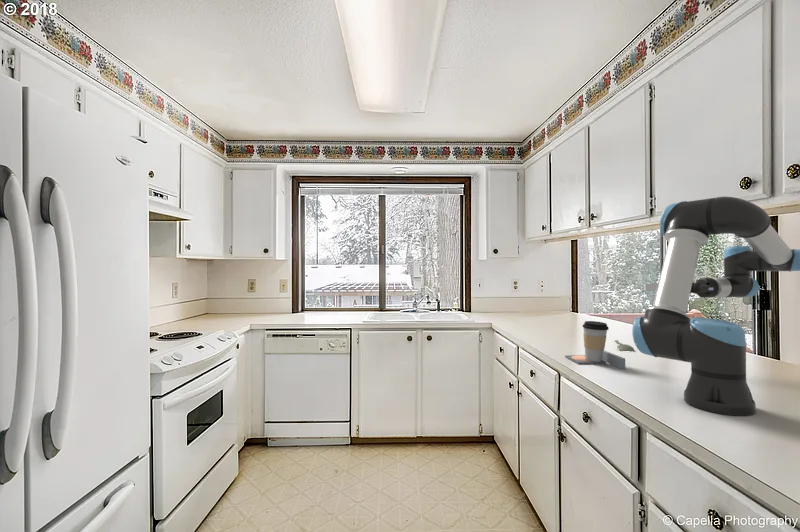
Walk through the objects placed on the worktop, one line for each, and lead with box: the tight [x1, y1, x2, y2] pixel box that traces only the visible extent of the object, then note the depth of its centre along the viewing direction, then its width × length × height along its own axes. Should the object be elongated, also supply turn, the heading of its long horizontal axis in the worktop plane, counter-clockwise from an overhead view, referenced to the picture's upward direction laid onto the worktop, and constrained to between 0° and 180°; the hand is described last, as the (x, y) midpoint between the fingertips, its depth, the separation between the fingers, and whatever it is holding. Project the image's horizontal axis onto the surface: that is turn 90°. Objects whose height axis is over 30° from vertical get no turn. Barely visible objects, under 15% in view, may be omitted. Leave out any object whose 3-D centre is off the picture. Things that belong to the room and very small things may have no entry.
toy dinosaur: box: [614, 339, 635, 352], centre depth 183 cm, size 22×3×7 cm
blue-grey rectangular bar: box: [602, 349, 626, 370], centre depth 153 cm, size 20×2×4 cm, turn 1°
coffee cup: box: [582, 320, 609, 362], centre depth 154 cm, size 9×9×15 cm
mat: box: [564, 354, 607, 365], centre depth 157 cm, size 12×11×1 cm
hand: (656, 288), depth 146 cm, fingers open, 13 cm apart
